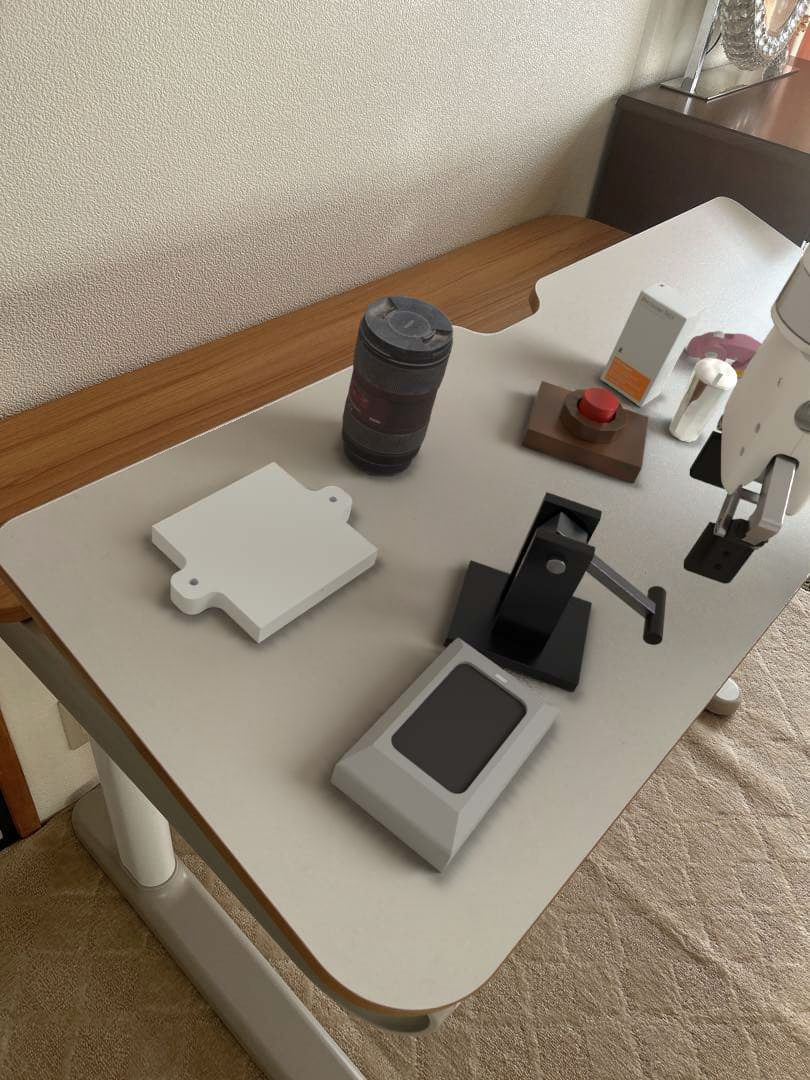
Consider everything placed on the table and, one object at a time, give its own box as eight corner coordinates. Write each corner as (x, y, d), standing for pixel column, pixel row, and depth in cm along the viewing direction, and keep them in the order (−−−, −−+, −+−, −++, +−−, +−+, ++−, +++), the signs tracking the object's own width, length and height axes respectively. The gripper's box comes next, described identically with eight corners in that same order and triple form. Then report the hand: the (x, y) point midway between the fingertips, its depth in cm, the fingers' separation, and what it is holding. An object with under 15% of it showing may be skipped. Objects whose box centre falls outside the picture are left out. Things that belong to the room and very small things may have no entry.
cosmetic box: (598, 380, 101) (639, 289, 92) (617, 368, 104) (659, 278, 95) (641, 409, 99) (687, 318, 90) (660, 396, 101) (707, 307, 93)
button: (613, 407, 92) (620, 394, 90) (610, 427, 89) (616, 414, 88) (580, 396, 92) (586, 382, 90) (576, 415, 89) (582, 402, 88)
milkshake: (658, 439, 96) (699, 365, 88) (666, 413, 99) (706, 339, 92) (698, 456, 95) (742, 382, 88) (705, 429, 99) (748, 356, 92)
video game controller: (679, 373, 108) (703, 345, 102) (684, 341, 110) (709, 312, 103) (755, 395, 109) (785, 368, 102) (760, 363, 110) (789, 334, 103)
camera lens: (320, 457, 83) (345, 322, 72) (359, 414, 88) (388, 282, 77) (396, 495, 81) (433, 362, 71) (431, 448, 87) (471, 319, 76)
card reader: (338, 755, 58) (461, 626, 68) (330, 782, 61) (450, 653, 70) (455, 849, 55) (566, 700, 65) (441, 873, 58) (550, 726, 68)
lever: (651, 603, 71) (675, 590, 70) (647, 650, 68) (671, 638, 66) (542, 514, 68) (564, 498, 66) (531, 558, 64) (554, 543, 63)
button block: (640, 432, 96) (655, 403, 93) (633, 483, 90) (649, 454, 87) (535, 396, 96) (547, 366, 94) (521, 445, 90) (533, 414, 87)
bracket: (587, 610, 77) (646, 508, 67) (573, 692, 70) (636, 591, 61) (467, 568, 77) (509, 460, 68) (442, 646, 71) (485, 538, 62)
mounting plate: (232, 661, 66) (234, 646, 64) (125, 556, 70) (124, 540, 69) (394, 550, 77) (398, 536, 75) (292, 466, 81) (294, 450, 80)
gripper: (938, 426, 43) (760, 636, 55) (894, 266, 55) (757, 467, 67) (789, 374, 43) (645, 595, 55) (778, 226, 55) (662, 434, 67)
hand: (706, 525), depth 61 cm, fingers open, 9 cm apart
